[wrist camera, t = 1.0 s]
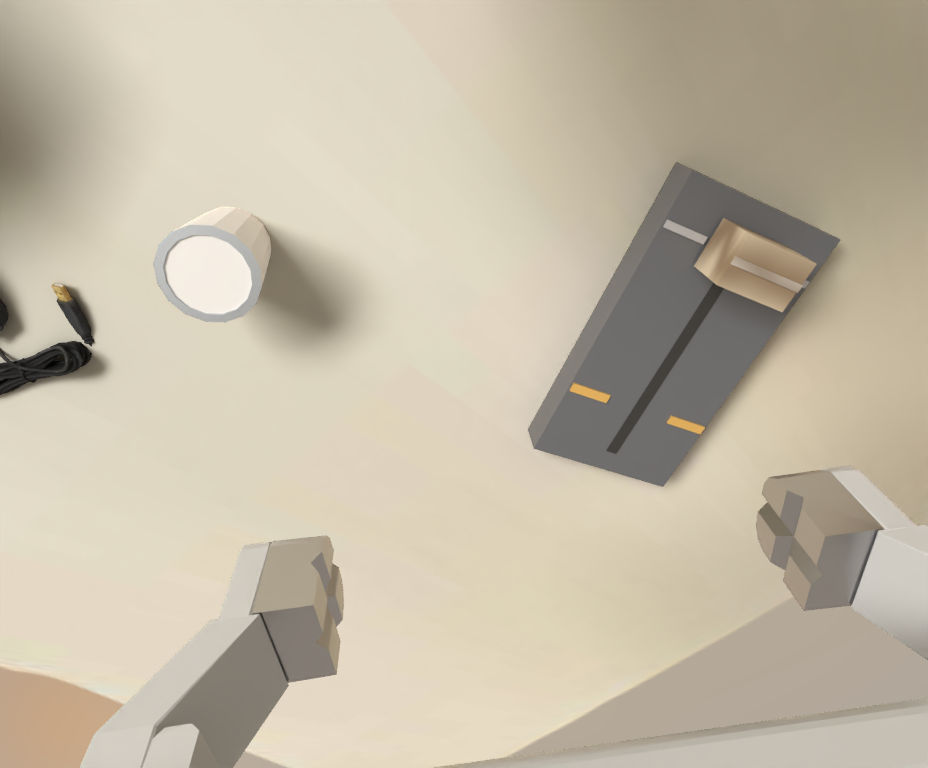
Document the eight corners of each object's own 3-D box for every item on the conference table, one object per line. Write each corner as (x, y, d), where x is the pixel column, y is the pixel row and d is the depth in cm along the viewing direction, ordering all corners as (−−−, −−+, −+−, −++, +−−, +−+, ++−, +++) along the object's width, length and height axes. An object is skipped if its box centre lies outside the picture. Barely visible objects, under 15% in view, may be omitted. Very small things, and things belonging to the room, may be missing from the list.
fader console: (676, 161, 46) (693, 170, 43) (817, 228, 50) (842, 240, 47) (528, 429, 57) (534, 449, 55) (651, 467, 61) (663, 488, 58)
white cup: (298, 258, 47) (283, 292, 41) (228, 301, 48) (203, 340, 42) (239, 179, 44) (213, 204, 38) (165, 228, 45) (129, 259, 39)
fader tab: (723, 217, 45) (751, 234, 41) (786, 246, 47) (818, 264, 43) (693, 266, 47) (717, 285, 43) (755, 291, 48) (783, 313, 45)
